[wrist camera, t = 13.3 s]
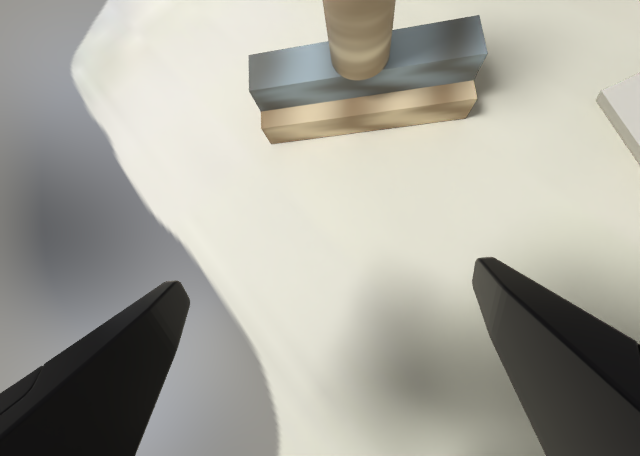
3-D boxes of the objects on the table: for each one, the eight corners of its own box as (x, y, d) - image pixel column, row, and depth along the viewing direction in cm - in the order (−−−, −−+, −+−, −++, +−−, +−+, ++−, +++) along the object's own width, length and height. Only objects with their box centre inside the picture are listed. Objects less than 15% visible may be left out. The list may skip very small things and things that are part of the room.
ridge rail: (453, 54, 25) (475, -4, 20) (465, 118, 23) (492, 73, 19) (269, 83, 27) (248, 38, 22) (271, 143, 26) (249, 109, 21)
